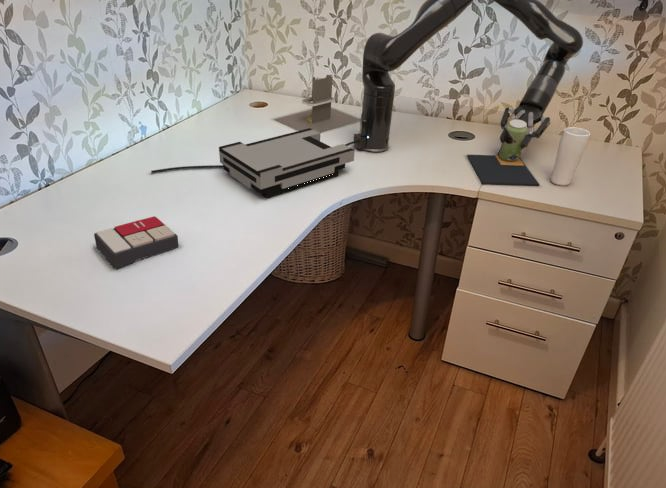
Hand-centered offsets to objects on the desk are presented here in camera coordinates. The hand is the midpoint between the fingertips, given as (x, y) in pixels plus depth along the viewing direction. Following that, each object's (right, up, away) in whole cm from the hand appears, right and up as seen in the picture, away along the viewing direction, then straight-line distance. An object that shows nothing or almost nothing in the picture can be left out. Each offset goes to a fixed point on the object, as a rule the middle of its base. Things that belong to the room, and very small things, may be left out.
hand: (511, 144), depth 158 cm
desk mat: (-3, -8, 0) cm, 8 cm away
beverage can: (+1, -4, +5) cm, 6 cm away
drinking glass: (+12, -13, -6) cm, 18 cm away
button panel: (-100, -34, -38) cm, 112 cm away
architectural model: (-57, +17, +32) cm, 68 cm away
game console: (-67, -10, -5) cm, 68 cm away
